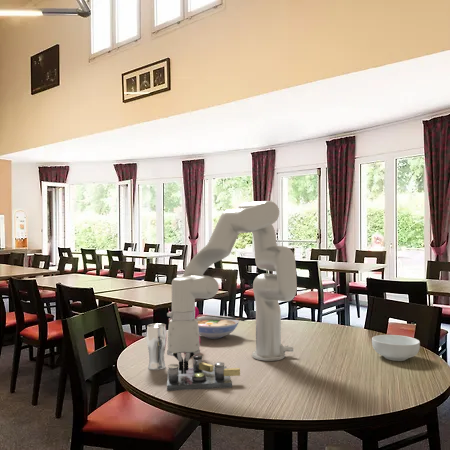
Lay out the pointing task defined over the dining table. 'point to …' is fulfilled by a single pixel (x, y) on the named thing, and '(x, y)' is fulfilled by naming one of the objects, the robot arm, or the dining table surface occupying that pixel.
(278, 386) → the dining table surface
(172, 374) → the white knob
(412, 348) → the cereal bowl
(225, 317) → the ramen bowl
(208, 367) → the tan lever handle
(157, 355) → the beer glass
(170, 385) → the base plate
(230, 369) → the grey knob
